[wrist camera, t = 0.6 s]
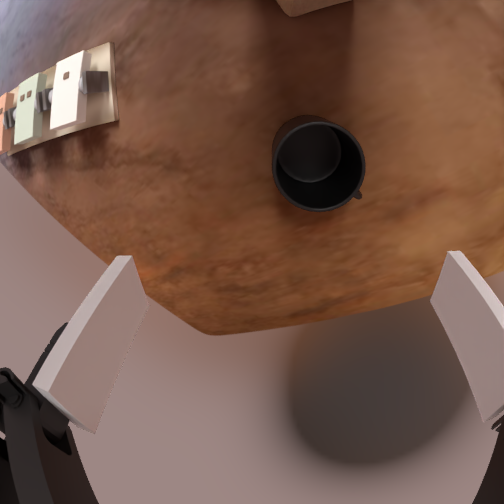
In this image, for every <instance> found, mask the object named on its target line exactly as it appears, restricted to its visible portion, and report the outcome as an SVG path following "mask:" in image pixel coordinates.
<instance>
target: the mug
mask: <svg viewBox="0 0 504 504" xmlns="http://www.w3.org/2000/svg"><path fill="white" fill-rule="evenodd" d="M272 173H273V178H274V181H275V183H276V186H277V188H278V189H279V191H280V193H281V194H282V195H283V196H284V197H285V198H286V199H287V200H288V201H289V202H290V203H292V204H293V205H295V206H297V207H299V208H301V209H304V210H308V211H314V212H324V211H330V210H334V209H336V208H339V207H341V206H343V205H344V204H346V203H347V202H349V201H350V200H351V199H352V198H353V197H354V198H356V199H359V200H360V199H361V198H362V194H361V192H360V191H359V189H360V187H361V185H362V182H363V179H364V175H365V157H364V154H363V151H362V148H361V146H360V144H359V143H358V141H357V140H356V138H355V137H354V136H353V135H352V134H351V133H350V132H349V131H347V130H346V129H344V128H343V127H341V126H339V125H337V124H335V123H333V122H330V121H328V120H326V119H323V118H321V117H317V116H311V115H306V116H299V117H296V118H293V119H291V120H290V121H288V122H286V123H285V124H284V125H283V126H282V127H281V128H280V129H279V131H278V132H277V134H276V136H275V138H274V141H273V146H272Z"/></svg>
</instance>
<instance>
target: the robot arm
mask: <svg viewBox="0 0 504 504" xmlns="http://www.w3.org/2000/svg"><path fill="white" fill-rule="evenodd" d="M430 302H431V304H432V306H433V308H434V310H435V311H436V313H437V315H438V317H439V319H440V321H441V323H442V325H443V327H444V329H445V331H446V333H447V335H448V337H449V339H450V341H451V343H452V345H453V347H454V349H455V352H456V354H457V356H458V358H459V361H460V363H461V365H462V367H463V370H464V372H465V375H466V377H467V380H468V382H469V385H470V387H471V390H472V392H473V395H474V398H475V401H476V403H477V406H478V409H479V412H480V415H481V418H482V421H483V422H485V421H487V420H490V419H491V418H494V417H496V416H497V415H498V414H499V413H500V412H501V411H503V409H504V307H503V305H502V304H501V302H500V301H499V299H498V298H497V297H496V295H495V294H494V292H493V291H492V290H491V288H490V287H489V286H488V285H487V283H486V282H485V281H484V279H483V278H482V277H481V275H480V274H479V273H478V272H477V270H476V269H475V268H474V267H473V265H472V264H471V263H470V262H469V261H468V259H467V258H466V257H465V256H464V255H463V253H462V252H461V251H448V252H447V255H446V258H445V262H444V265H443V267H442V270H441V273H440V276H439V279H438V282H437V284H436V287H435V289H434V292H433V295H432V297H431V300H430ZM148 308H149V303H148V300H147V298H146V295H145V292H144V289H143V287H142V284H141V281H140V278H139V275H138V272H137V269H136V266H135V263H134V260H133V257H132V256H117V257H116V258H115V259H114V260H113V262H112V263H111V264H110V266H109V267H108V268H107V270H106V271H105V272H104V273H103V275H102V276H101V278H100V279H99V280H98V282H97V283H96V284H95V286H94V287H93V289H92V290H91V291H90V293H89V294H88V295H87V297H86V298H85V300H84V301H83V302H82V304H81V305H80V307H79V308H78V310H77V311H76V313H75V314H74V316H73V317H72V319H71V320H70V322H69V323H65V324H64V325H63V326H62V327H60V328H59V329H58V330H57V331H56V333H55V334H54V336H53V337H52V339H51V340H50V344H48V345H47V347H46V348H45V352H43V354H42V355H41V357H40V358H39V360H38V362H37V363H36V365H35V367H34V369H33V370H32V372H31V374H30V376H29V378H28V379H27V381H26V382H25V384H23V383H22V382H21V381H20V380H19V379H18V378H17V376H16V375H15V374H14V373H13V372H12V371H11V370H10V369H9V368H6V367H5V368H0V431H1V432H3V433H4V434H5V435H6V437H5V439H4V440H3V439H2V438H0V504H99V503H98V501H97V499H96V497H95V495H94V492H93V490H92V488H91V486H90V483H89V481H88V478H87V476H86V473H85V470H84V468H83V465H82V462H81V459H80V456H79V454H78V451H77V447H76V444H75V441H74V438H73V434H72V431H71V429H70V427H69V426H68V423H69V420H70V421H71V422H72V423H74V424H75V425H76V426H77V427H79V428H81V429H83V430H86V431H88V432H91V433H94V434H95V432H96V430H97V427H98V424H99V421H100V418H101V416H102V413H103V411H104V408H105V406H106V403H107V401H108V398H109V396H110V393H111V391H112V388H113V386H114V383H115V381H116V379H117V376H118V374H119V372H120V369H121V367H122V365H123V362H124V360H125V357H126V355H127V353H128V350H129V349H130V347H131V344H132V342H133V340H134V338H135V336H136V333H137V331H138V329H139V327H140V325H141V323H142V321H143V318H144V316H145V314H146V312H147V310H148ZM500 423H501V425H500V426H499V427H498V428H497V429H496V431H497V432H499V434H498V438H497V441H496V445H495V448H494V451H493V454H492V457H491V460H490V463H489V466H488V468H487V471H486V474H485V476H484V479H483V481H482V484H481V486H480V488H479V491H478V493H477V495H476V497H475V499H474V501H473V503H472V504H504V415H503V416H502V417H501V418H499V420H497V421H496V422H495V423H494V424H493V426H492V428H491V429H492V430H493V429H494V428H495V427H497V426H498V425H499V424H500Z"/></svg>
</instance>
